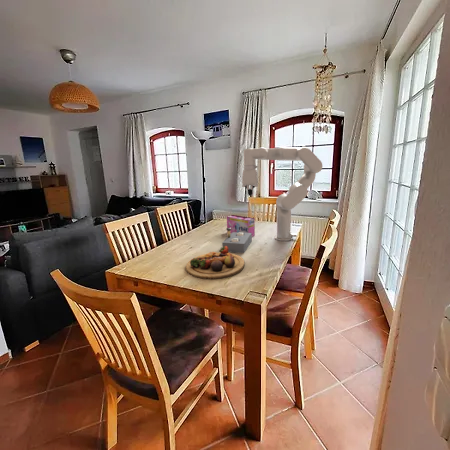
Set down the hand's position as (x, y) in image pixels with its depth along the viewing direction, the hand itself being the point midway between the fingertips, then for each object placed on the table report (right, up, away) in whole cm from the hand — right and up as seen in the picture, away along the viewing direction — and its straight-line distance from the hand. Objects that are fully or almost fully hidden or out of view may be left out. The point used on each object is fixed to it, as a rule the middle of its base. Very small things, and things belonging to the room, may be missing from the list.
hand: (250, 195), depth 168 cm
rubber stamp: (-14, -28, -3) cm, 32 cm away
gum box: (-5, -28, +24) cm, 37 cm away
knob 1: (-11, -36, -10) cm, 38 cm away
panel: (-9, -34, -3) cm, 36 cm away
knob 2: (-6, -32, +3) cm, 33 cm away
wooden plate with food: (-22, -43, -34) cm, 59 cm away
